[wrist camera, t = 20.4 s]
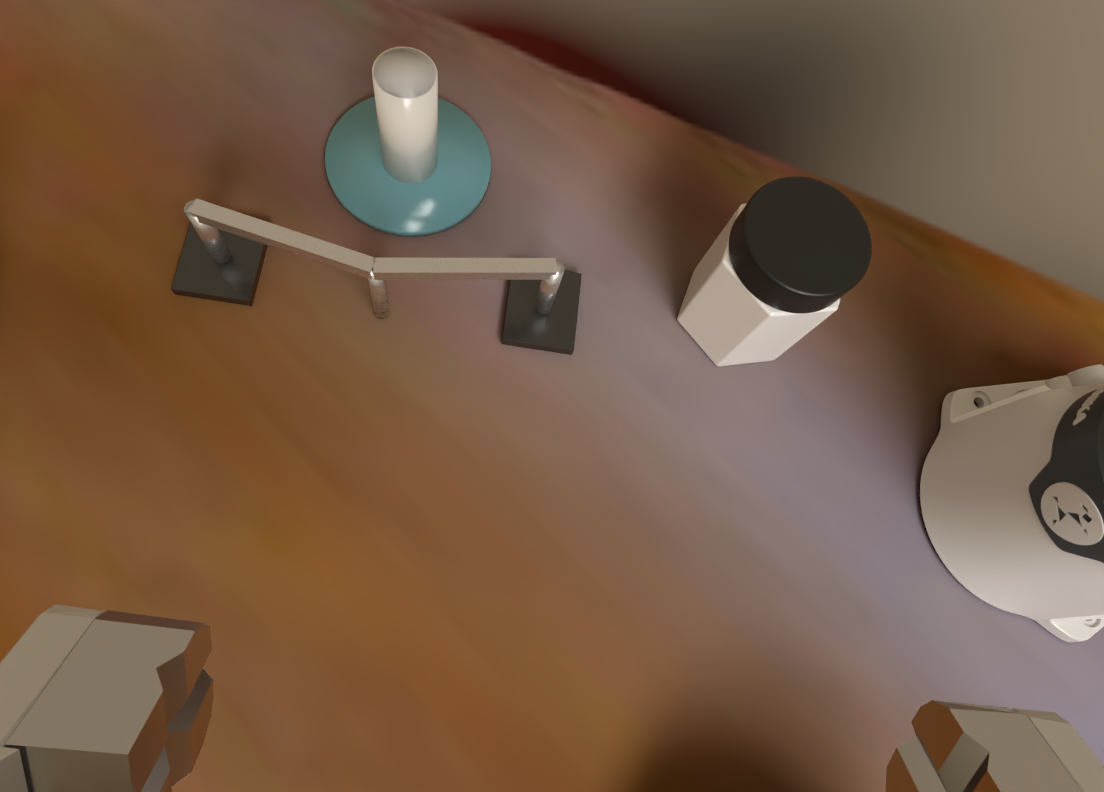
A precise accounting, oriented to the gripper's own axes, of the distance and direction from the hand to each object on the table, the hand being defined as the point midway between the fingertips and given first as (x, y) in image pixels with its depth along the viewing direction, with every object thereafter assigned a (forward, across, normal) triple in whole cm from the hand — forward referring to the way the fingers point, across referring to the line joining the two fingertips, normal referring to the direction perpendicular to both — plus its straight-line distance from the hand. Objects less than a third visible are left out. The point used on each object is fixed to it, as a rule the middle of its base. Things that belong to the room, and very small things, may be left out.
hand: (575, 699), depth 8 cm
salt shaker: (+51, +8, +4) cm, 52 cm away
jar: (+46, -17, +10) cm, 50 cm away
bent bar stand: (+44, +9, +12) cm, 46 cm away
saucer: (+51, +9, +4) cm, 52 cm away
